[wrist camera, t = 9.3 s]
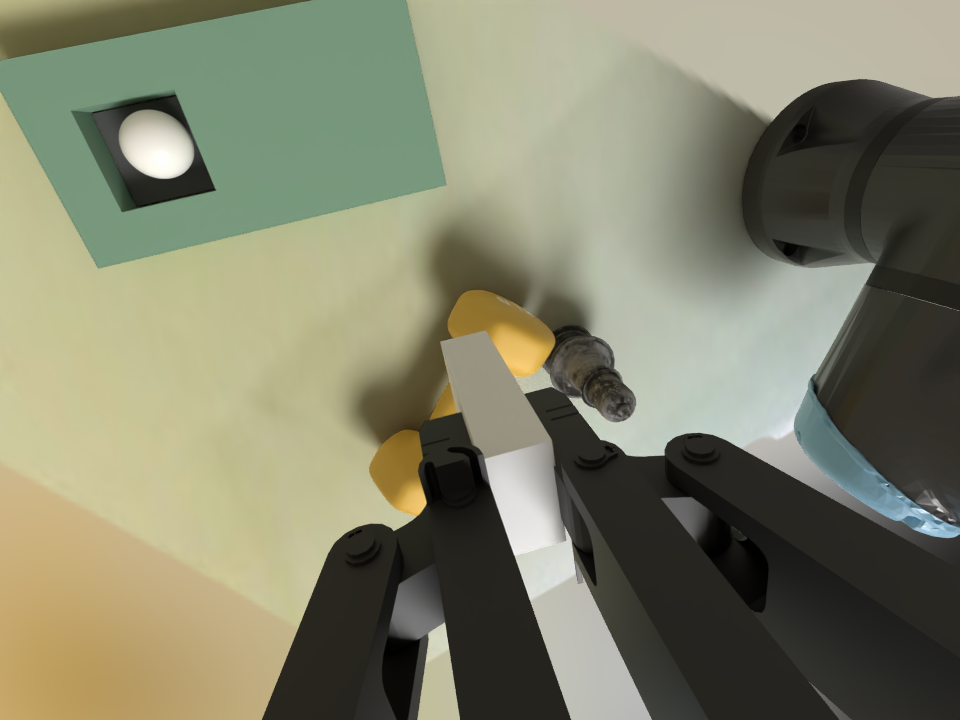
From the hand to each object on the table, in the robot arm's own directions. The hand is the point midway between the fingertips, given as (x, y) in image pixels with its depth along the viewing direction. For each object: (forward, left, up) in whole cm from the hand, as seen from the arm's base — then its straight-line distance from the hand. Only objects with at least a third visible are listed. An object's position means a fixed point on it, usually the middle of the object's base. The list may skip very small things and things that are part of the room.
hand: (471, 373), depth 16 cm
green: (+8, -9, -26) cm, 28 cm away
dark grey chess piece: (-12, +14, -26) cm, 31 cm away
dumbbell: (-1, +14, -26) cm, 29 cm away
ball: (+14, -10, -23) cm, 29 cm away
